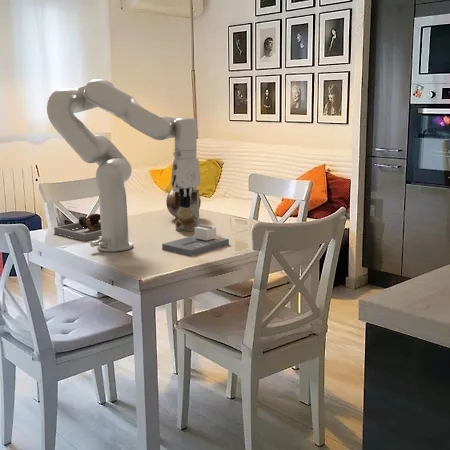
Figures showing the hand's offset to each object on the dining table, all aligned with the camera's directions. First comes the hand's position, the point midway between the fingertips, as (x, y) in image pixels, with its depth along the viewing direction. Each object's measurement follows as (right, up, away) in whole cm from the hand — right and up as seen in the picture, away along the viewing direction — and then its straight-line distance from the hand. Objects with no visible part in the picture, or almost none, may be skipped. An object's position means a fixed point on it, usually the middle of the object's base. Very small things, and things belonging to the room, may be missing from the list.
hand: (185, 207), depth 208 cm
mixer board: (+4, -14, +6) cm, 16 cm away
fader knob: (+7, -11, +9) cm, 16 cm away
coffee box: (-1, -8, +34) cm, 35 cm away
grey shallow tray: (-41, -9, +30) cm, 51 cm away
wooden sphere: (-4, -4, +54) cm, 54 cm away
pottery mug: (-39, -9, +32) cm, 52 cm away
